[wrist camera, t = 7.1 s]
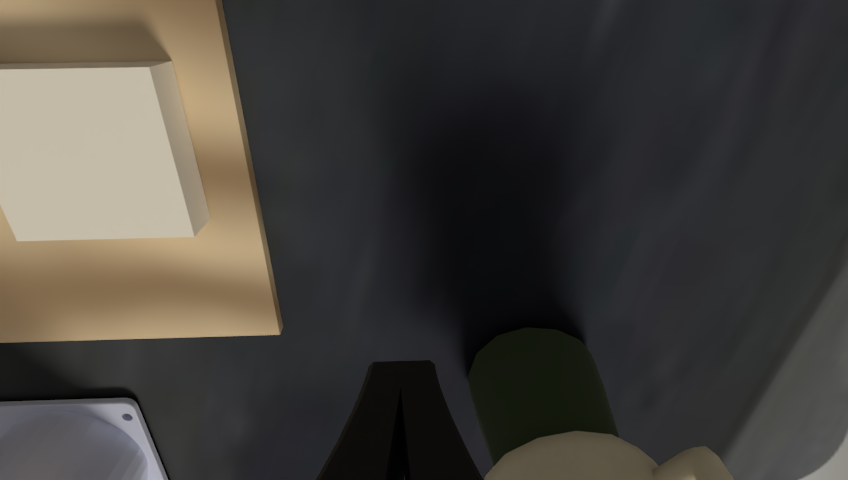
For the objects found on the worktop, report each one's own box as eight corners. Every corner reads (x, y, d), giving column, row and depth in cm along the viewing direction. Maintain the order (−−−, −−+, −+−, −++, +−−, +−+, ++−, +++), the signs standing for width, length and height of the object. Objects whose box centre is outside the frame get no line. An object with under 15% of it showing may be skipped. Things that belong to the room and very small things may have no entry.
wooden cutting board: (282, 326, 22) (279, 334, 22) (-17, 335, 22) (-28, 343, 21) (192, -157, 14) (183, -163, 13) (-293, -155, 14) (-322, -161, 13)
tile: (194, 236, 17) (17, 241, 17) (211, 218, 19) (47, 222, 19) (148, 67, 15) (-63, 70, 15) (172, 60, 16) (-20, 63, 16)
